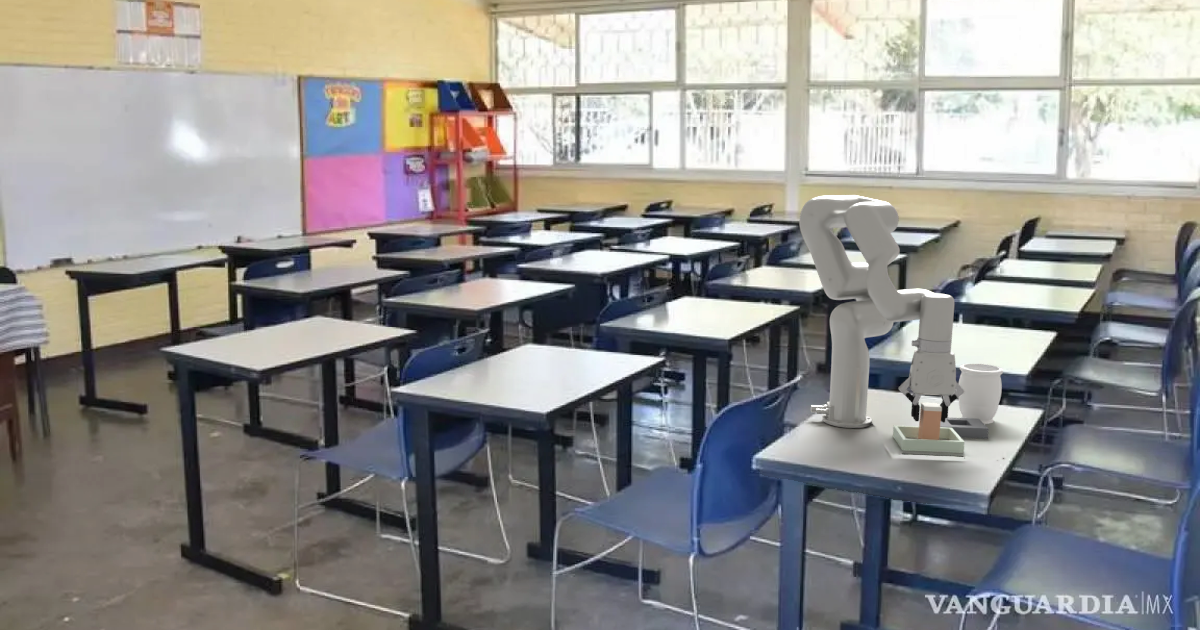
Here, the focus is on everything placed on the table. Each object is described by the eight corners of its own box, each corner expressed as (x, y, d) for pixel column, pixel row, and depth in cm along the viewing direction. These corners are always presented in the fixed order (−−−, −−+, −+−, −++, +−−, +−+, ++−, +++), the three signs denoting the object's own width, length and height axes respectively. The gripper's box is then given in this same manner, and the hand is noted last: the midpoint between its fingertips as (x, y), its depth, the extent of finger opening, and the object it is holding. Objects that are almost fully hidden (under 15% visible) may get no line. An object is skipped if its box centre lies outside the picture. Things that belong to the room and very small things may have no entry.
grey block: (937, 440, 254) (938, 426, 254) (929, 430, 263) (930, 416, 262) (987, 442, 253) (988, 428, 253) (977, 432, 262) (978, 418, 261)
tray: (902, 454, 242) (903, 439, 242) (892, 439, 254) (893, 425, 254) (963, 456, 241) (964, 441, 241) (950, 441, 253) (952, 427, 252)
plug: (921, 447, 246) (924, 406, 244) (917, 442, 250) (921, 402, 248) (938, 448, 245) (941, 407, 244) (934, 443, 249) (938, 403, 248)
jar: (992, 418, 275) (997, 363, 272) (1003, 429, 265) (1008, 372, 262) (951, 417, 276) (955, 362, 273) (960, 427, 266) (965, 370, 263)
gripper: (900, 348, 241) (895, 423, 244) (976, 350, 239) (969, 426, 242) (894, 341, 248) (889, 414, 251) (967, 344, 246) (961, 417, 250)
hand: (929, 419), depth 247 cm, fingers open, 5 cm apart
